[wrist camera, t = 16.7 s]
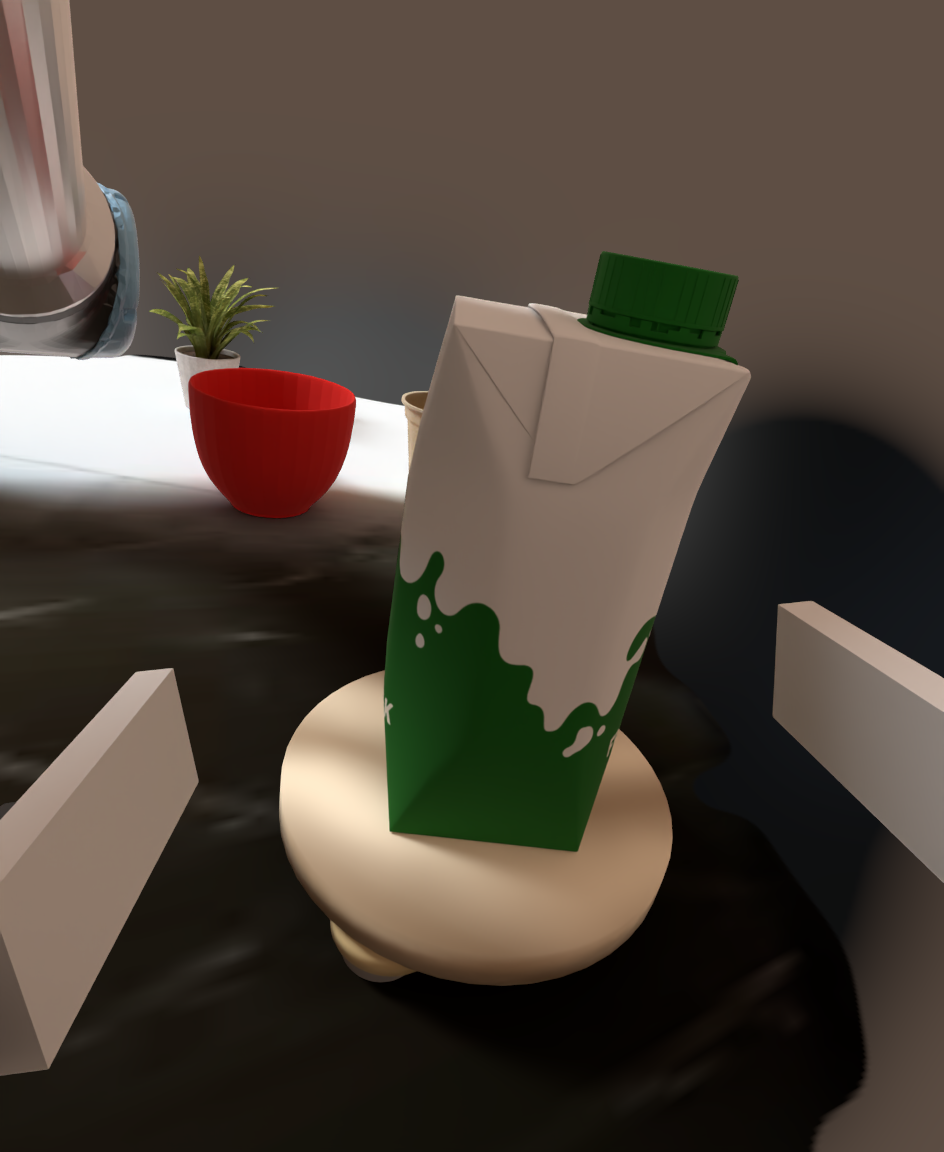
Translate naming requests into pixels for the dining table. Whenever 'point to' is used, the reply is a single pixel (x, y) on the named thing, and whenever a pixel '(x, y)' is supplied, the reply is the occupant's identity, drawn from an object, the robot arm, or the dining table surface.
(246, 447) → the ceramic cup
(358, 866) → the stand
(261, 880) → the dining table surface
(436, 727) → the soya milk
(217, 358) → the house plant
